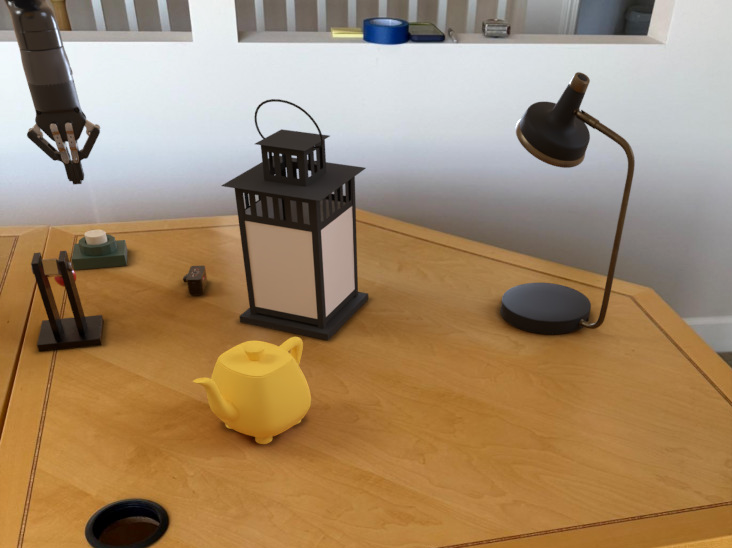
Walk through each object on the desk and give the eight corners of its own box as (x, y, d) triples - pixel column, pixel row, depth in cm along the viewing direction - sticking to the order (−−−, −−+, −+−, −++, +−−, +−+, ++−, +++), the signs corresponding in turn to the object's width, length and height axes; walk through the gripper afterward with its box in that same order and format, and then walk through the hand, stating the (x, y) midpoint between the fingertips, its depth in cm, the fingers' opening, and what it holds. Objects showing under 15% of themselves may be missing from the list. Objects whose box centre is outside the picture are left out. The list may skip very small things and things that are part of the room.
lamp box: (74, 270, 152) (68, 250, 150) (77, 254, 158) (71, 234, 155) (126, 265, 154) (122, 246, 151) (127, 250, 160) (123, 230, 157)
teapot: (176, 439, 110) (159, 362, 102) (274, 381, 122) (265, 308, 114) (243, 474, 104) (230, 395, 96) (338, 410, 116) (335, 335, 108)
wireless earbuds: (208, 280, 150) (206, 263, 147) (203, 296, 144) (201, 279, 142) (184, 280, 149) (181, 264, 147) (178, 296, 144) (175, 280, 142)
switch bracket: (44, 326, 135) (19, 248, 126) (103, 321, 137) (83, 243, 127) (39, 351, 128) (12, 271, 119) (101, 345, 130) (79, 265, 121)
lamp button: (86, 246, 152) (83, 237, 151) (87, 239, 155) (84, 230, 154) (107, 245, 153) (105, 236, 151) (107, 237, 155) (105, 228, 154)
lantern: (368, 299, 144) (364, 87, 121) (328, 340, 132) (315, 114, 109) (286, 283, 149) (267, 77, 125) (240, 322, 137) (209, 101, 113)
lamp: (533, 284, 150) (564, 55, 124) (627, 324, 138) (683, 79, 112) (477, 309, 141) (497, 69, 116) (572, 353, 130) (618, 97, 104)
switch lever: (58, 289, 136) (54, 267, 135) (79, 287, 136) (75, 266, 136) (40, 279, 123) (35, 255, 122) (64, 277, 124) (59, 253, 123)
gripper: (5, 84, 128) (38, 192, 140) (88, 80, 131) (113, 187, 142) (11, 74, 134) (42, 179, 146) (91, 70, 136) (115, 173, 148)
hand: (77, 182), depth 144 cm, fingers closed
